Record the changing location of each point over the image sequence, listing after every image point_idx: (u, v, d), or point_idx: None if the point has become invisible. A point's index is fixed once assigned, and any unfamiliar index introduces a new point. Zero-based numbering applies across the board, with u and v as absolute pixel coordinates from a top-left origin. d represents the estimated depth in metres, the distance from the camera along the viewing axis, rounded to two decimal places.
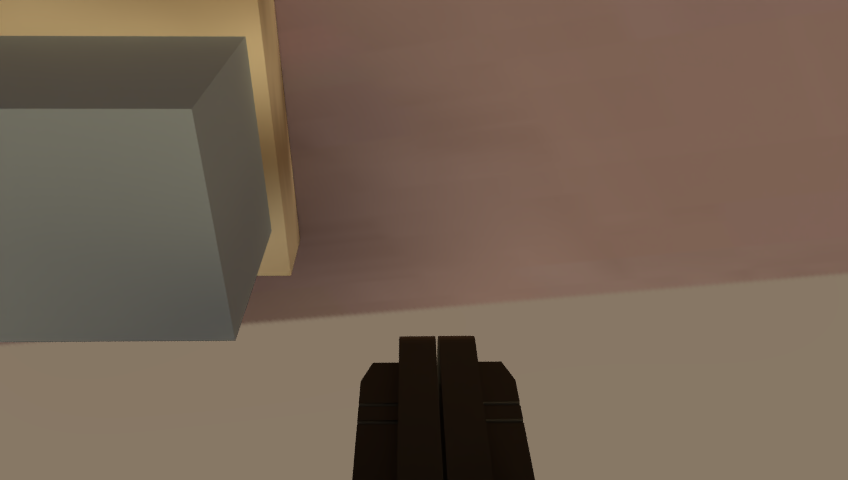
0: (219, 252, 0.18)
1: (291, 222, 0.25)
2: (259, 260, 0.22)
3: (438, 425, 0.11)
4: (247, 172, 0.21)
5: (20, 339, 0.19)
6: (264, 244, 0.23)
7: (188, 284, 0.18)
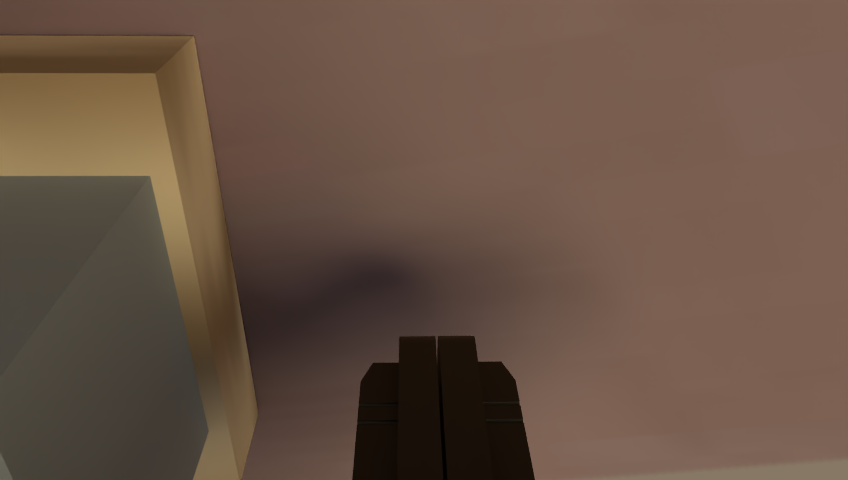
0: None
1: (241, 405, 0.18)
2: None
3: (438, 425, 0.11)
4: (153, 390, 0.13)
5: None
6: (193, 466, 0.15)
7: None
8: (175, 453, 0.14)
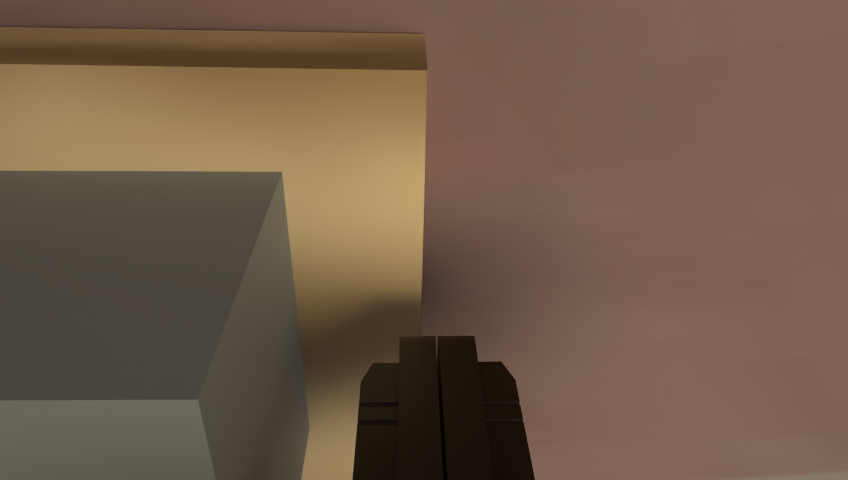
0: None
1: None
2: None
3: (438, 425, 0.11)
4: (282, 386, 0.13)
5: None
6: (301, 463, 0.15)
7: None
8: (293, 450, 0.14)
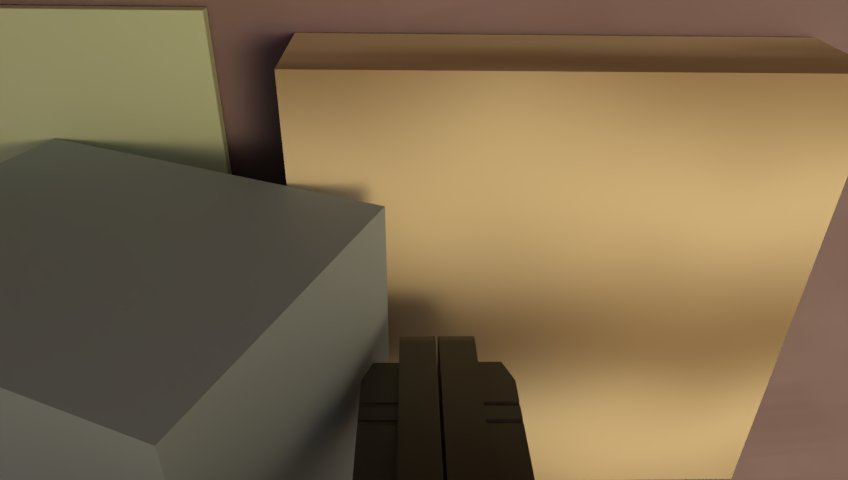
0: None
1: None
2: None
3: (438, 425, 0.11)
4: (342, 425, 0.12)
5: None
6: None
7: None
8: None
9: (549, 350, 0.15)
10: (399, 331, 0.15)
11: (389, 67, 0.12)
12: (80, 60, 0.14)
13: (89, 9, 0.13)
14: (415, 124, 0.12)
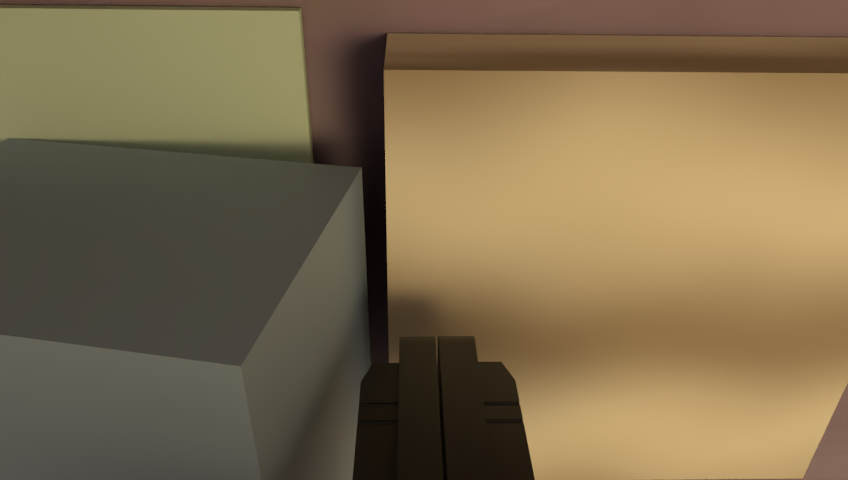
0: None
1: None
2: None
3: (438, 425, 0.11)
4: (343, 369, 0.14)
5: None
6: None
7: None
8: (350, 432, 0.15)
9: (633, 349, 0.15)
10: (485, 331, 0.15)
11: (497, 68, 0.12)
12: (174, 60, 0.14)
13: (187, 9, 0.13)
14: (519, 124, 0.12)
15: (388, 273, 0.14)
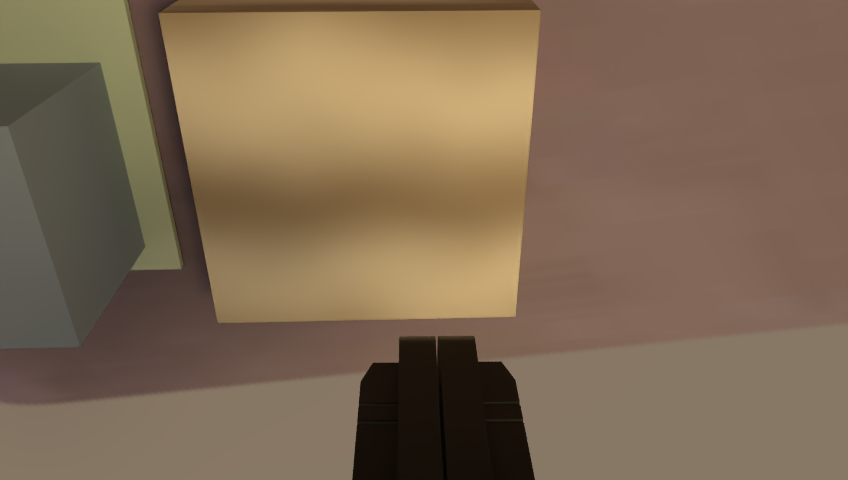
0: (53, 261, 0.19)
1: None
2: (123, 274, 0.23)
3: (438, 425, 0.11)
4: (102, 188, 0.22)
5: None
6: (132, 258, 0.24)
7: (27, 293, 0.19)
8: (118, 239, 0.23)
9: (365, 211, 0.22)
10: (260, 198, 0.22)
11: (230, 11, 0.19)
12: (41, 17, 0.21)
13: None
14: (251, 48, 0.20)
15: (186, 155, 0.21)
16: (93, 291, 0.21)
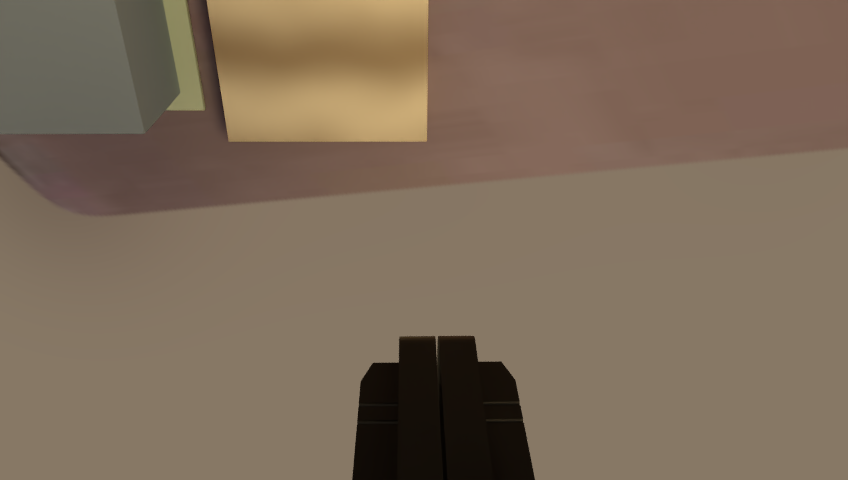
0: (131, 73, 0.31)
1: None
2: (167, 103, 0.36)
3: (438, 425, 0.11)
4: (156, 41, 0.34)
5: (19, 133, 0.33)
6: (173, 96, 0.37)
7: (114, 94, 0.32)
8: (165, 79, 0.35)
9: (324, 61, 0.35)
10: (256, 50, 0.34)
11: None
12: None
13: None
14: None
15: (210, 19, 0.34)
16: (151, 104, 0.33)
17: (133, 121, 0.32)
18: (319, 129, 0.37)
